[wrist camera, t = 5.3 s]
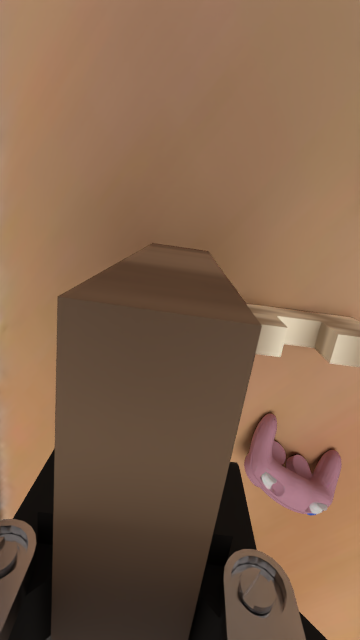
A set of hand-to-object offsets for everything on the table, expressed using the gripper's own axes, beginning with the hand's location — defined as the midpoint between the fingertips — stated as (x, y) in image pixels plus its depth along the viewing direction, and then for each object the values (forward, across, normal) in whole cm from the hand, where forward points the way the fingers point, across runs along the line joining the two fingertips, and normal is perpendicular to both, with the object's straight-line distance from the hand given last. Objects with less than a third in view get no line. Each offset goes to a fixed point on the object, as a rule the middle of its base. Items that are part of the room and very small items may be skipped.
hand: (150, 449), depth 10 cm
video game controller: (+20, -14, +14) cm, 28 cm away
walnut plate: (+5, 0, 0) cm, 5 cm away
